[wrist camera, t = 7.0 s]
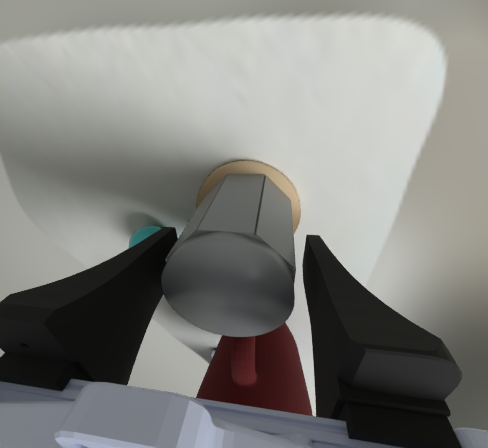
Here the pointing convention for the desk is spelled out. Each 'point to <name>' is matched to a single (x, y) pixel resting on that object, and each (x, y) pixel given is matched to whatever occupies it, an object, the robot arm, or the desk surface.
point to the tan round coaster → (254, 168)
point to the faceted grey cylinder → (235, 259)
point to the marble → (142, 234)
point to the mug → (258, 373)
